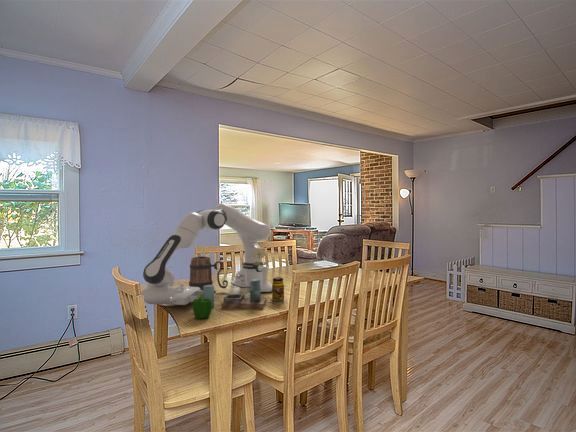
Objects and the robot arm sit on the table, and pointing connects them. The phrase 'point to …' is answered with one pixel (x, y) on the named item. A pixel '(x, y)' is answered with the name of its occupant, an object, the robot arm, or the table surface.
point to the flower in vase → (259, 254)
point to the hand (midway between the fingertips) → (203, 295)
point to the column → (209, 293)
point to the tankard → (203, 273)
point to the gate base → (246, 303)
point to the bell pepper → (202, 307)
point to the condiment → (277, 291)
